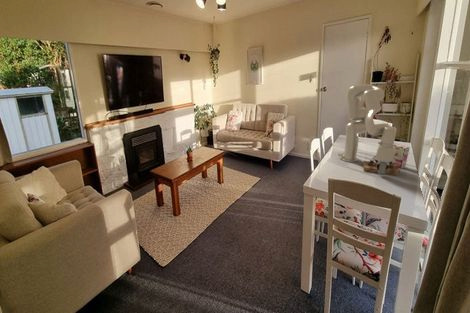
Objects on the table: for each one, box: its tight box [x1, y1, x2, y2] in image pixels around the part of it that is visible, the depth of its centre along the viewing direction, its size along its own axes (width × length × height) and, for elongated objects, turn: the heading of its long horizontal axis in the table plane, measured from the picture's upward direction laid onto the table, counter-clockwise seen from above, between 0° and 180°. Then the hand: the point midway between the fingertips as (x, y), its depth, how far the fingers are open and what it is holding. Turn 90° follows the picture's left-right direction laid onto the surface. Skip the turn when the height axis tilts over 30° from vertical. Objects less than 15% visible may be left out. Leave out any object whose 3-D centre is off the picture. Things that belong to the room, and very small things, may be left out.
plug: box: [377, 161, 387, 175], centre depth 171 cm, size 4×4×8 cm
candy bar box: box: [391, 143, 410, 170], centre depth 186 cm, size 11×5×16 cm, turn 21°
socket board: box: [362, 159, 400, 176], centre depth 183 cm, size 22×14×4 cm, turn 65°
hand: (381, 169), depth 172 cm, fingers closed on plug, 4 cm apart
